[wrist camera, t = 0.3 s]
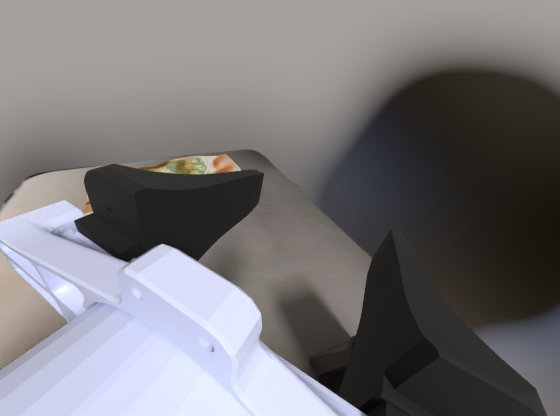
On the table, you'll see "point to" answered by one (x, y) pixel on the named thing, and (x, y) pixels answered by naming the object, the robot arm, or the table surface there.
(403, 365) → the robot arm
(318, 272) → the table surface
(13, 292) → the table surface
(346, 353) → the phone stand
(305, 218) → the table surface
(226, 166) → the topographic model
